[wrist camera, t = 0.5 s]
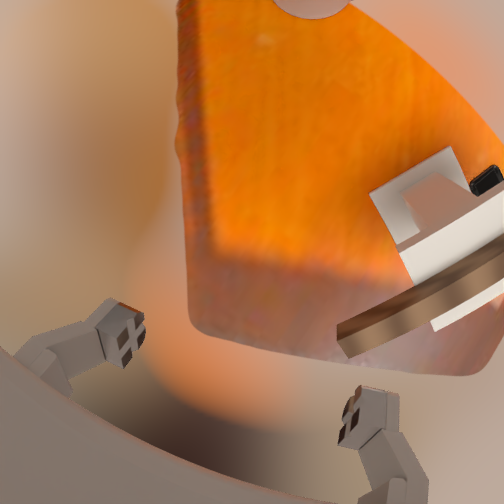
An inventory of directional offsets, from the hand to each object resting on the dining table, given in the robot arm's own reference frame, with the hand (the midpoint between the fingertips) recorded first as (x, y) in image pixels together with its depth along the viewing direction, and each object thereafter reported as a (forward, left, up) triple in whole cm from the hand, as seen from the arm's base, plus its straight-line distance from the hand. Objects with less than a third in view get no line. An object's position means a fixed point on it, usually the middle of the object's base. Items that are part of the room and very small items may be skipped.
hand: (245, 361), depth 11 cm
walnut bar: (+7, +17, -22) cm, 29 cm away
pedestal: (+3, +22, -48) cm, 53 cm away
